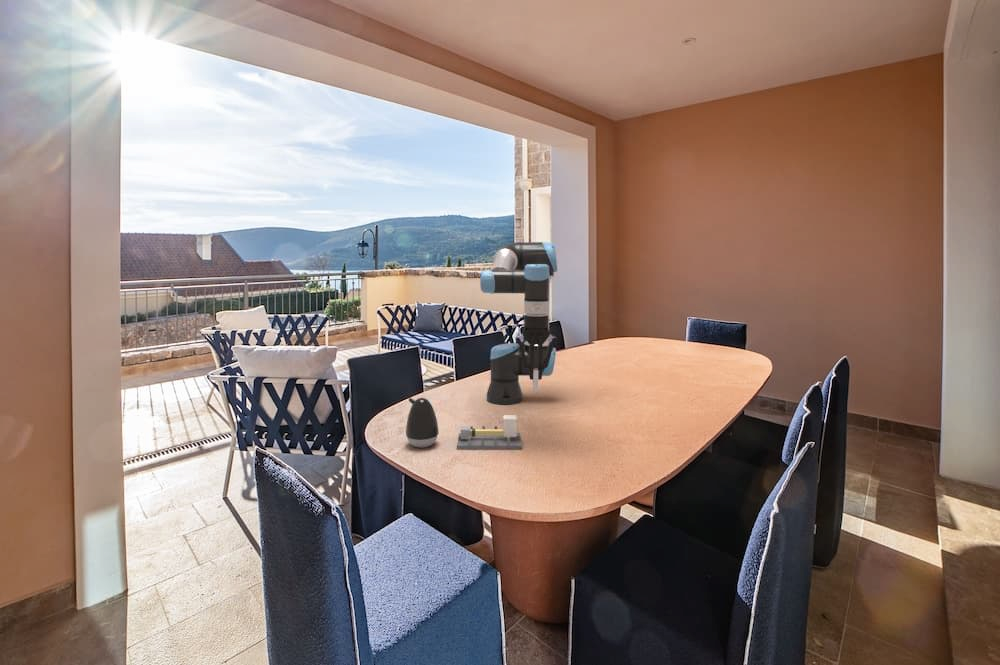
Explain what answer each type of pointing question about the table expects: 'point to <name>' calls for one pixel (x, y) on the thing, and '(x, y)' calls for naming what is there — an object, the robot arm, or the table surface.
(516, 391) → the robot arm
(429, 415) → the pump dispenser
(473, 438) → the cable comb
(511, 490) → the table surface
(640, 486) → the table surface
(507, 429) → the sleeve
